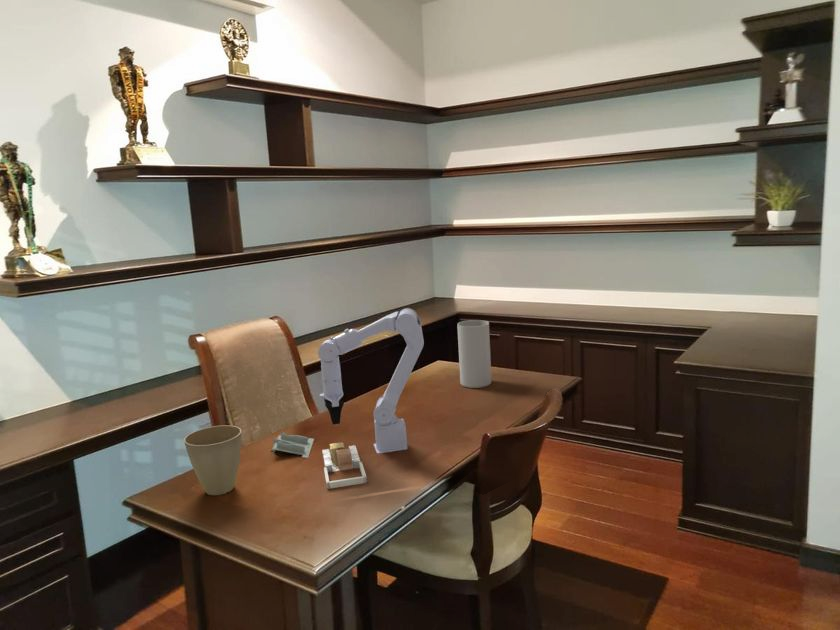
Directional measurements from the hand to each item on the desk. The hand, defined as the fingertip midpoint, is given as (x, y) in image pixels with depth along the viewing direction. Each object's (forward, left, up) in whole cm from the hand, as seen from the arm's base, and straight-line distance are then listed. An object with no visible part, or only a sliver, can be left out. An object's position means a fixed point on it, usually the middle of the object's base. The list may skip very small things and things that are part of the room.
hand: (335, 421), depth 191 cm
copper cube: (-1, +13, -9) cm, 15 cm away
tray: (0, +21, -9) cm, 23 cm away
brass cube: (+1, +7, -9) cm, 11 cm away
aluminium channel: (0, +10, -9) cm, 14 cm away
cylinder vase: (-60, -48, -10) cm, 77 cm away
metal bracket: (+13, -5, -10) cm, 17 cm away
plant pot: (+34, +15, -10) cm, 38 cm away
